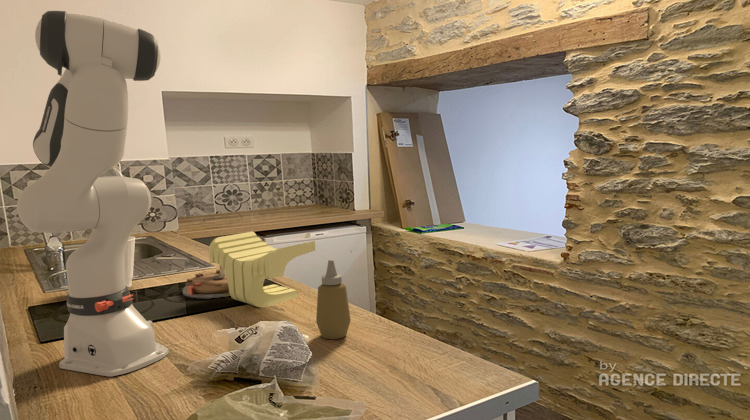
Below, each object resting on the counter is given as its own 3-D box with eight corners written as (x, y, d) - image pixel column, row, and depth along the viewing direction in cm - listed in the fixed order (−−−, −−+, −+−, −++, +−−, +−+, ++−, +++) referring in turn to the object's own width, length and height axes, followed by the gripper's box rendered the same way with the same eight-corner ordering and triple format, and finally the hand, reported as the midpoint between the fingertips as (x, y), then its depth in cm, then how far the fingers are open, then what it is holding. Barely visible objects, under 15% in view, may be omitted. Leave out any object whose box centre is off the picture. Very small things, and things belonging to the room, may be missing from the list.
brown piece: (236, 293, 153) (233, 248, 151) (175, 293, 155) (171, 248, 153) (258, 277, 171) (255, 236, 170) (203, 277, 174) (200, 236, 172)
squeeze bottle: (319, 329, 124) (316, 257, 122) (352, 328, 124) (349, 256, 122) (314, 342, 116) (310, 265, 114) (349, 341, 116) (346, 264, 114)
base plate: (268, 284, 167) (268, 274, 166) (216, 302, 148) (215, 291, 148) (222, 276, 178) (221, 267, 178) (167, 293, 160) (166, 282, 159)
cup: (141, 280, 177) (137, 235, 175) (137, 289, 166) (133, 240, 164) (103, 284, 173) (98, 238, 171) (96, 293, 162) (91, 244, 160)
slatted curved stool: (212, 296, 155) (208, 239, 152) (256, 285, 166) (253, 231, 164) (272, 316, 135) (268, 250, 132) (317, 302, 146) (314, 240, 144)
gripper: (118, 156, 136) (146, 201, 139) (96, 177, 151) (122, 217, 153) (96, 166, 132) (125, 212, 134) (75, 186, 147) (102, 227, 149)
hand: (123, 215), depth 144 cm, fingers closed
